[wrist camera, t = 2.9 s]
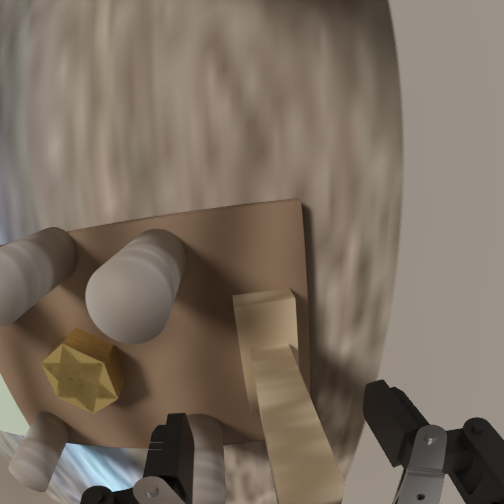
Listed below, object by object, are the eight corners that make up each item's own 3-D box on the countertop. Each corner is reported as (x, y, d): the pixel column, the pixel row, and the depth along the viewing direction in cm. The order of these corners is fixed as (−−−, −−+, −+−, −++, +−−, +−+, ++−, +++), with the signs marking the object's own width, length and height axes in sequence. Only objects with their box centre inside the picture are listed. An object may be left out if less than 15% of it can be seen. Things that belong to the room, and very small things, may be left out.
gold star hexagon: (88, 316, 16) (75, 332, 14) (139, 370, 17) (132, 390, 15) (45, 355, 16) (31, 371, 14) (91, 401, 17) (82, 420, 15)
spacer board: (295, 189, 16) (346, 200, 10) (307, 422, 21) (333, 494, 14) (-34, 246, 15) (-100, 275, 8) (41, 431, 19) (13, 486, 12)
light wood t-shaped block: (288, 287, 17) (372, 429, 6) (295, 389, 18) (345, 530, 8) (232, 295, 16) (252, 455, 6) (247, 396, 18) (271, 546, 8)
